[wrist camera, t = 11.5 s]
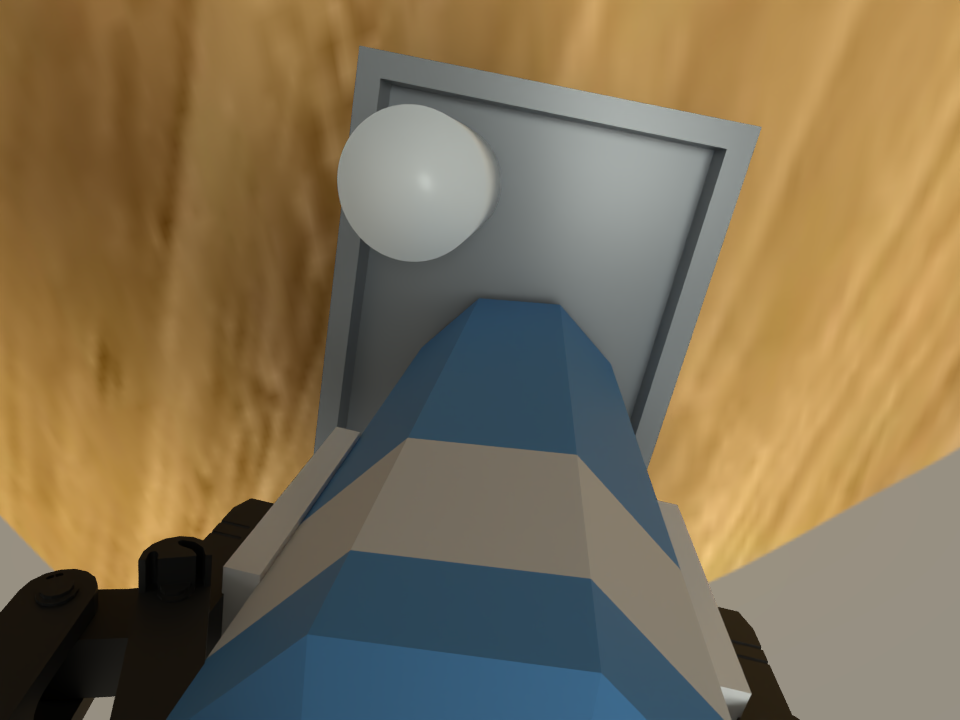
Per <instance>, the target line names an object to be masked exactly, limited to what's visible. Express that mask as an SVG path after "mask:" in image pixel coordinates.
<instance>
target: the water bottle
mask: <svg viewBox="0 0 960 720" xmlns="http://www.w3.org/2000/svg"><path fill="white" fill-rule="evenodd" d="M166 720H731V717H730V714H729V711H728V708H727V705H726V702H725V699H724V696H723V693H722V690H721V687H720V684H719V681H718V678H717V675H716V673H715V670H714V667H713V664H712V661H711V658H710V655H709V652H708V649H707V646H706V643H705V640H704V637H703V634H702V631H701V628H700V625H699V622H698V619H697V616H696V614H695V611H694V608H693V605H692V602H691V599H690V596H689V593H688V590H687V587H686V584H685V581H684V578H683V575H682V572H681V569H680V566H679V563H678V560H677V557H676V555H675V552H674V549H673V546H672V543H671V540H670V537H669V534H668V531H667V528H666V525H665V522H664V519H663V516H662V513H661V510H660V507H659V504H658V501H657V498H656V496H655V493H654V490H653V487H652V484H651V481H650V478H649V475H648V472H647V469H646V466H645V463H644V460H643V457H642V454H641V451H640V448H639V445H638V442H637V439H636V437H635V434H634V431H633V428H632V425H631V422H630V419H629V416H628V413H627V410H626V407H625V404H624V401H623V398H622V395H621V392H620V389H619V386H618V383H617V380H616V378H615V375H614V372H613V369H612V366H611V364H610V362H609V361H608V360H607V359H606V358H605V357H604V355H603V354H602V353H601V352H600V351H599V350H598V348H597V347H596V346H595V345H594V344H593V343H592V341H591V340H590V339H589V338H588V337H587V336H586V334H585V333H584V332H583V331H582V330H581V329H580V327H579V326H578V325H577V324H576V323H575V321H574V320H573V319H572V318H571V317H570V316H569V314H568V313H567V312H566V311H565V310H564V309H563V307H562V306H561V305H558V304H545V303H533V302H520V301H508V300H495V299H482V298H479V299H478V300H477V301H475V302H474V303H473V304H472V305H471V306H470V307H468V308H467V309H466V310H465V311H464V312H463V313H461V314H460V315H459V316H458V317H457V318H456V319H454V320H453V321H452V322H451V323H450V324H449V325H447V326H446V327H445V328H444V329H443V330H442V331H440V332H439V333H438V334H437V335H436V336H435V337H433V338H432V339H431V340H430V341H429V342H428V343H426V344H425V345H424V346H423V347H422V348H421V349H420V351H419V352H418V354H417V355H416V357H415V358H414V359H413V361H412V362H411V364H410V365H409V367H408V368H407V370H406V371H405V372H404V374H403V375H402V377H401V378H400V380H399V381H398V383H397V384H396V385H395V387H394V388H393V390H392V391H391V393H390V394H389V396H388V397H387V398H386V400H385V401H384V403H383V404H382V406H381V407H380V409H379V410H378V411H377V413H376V414H375V416H374V417H373V419H372V420H371V422H370V423H369V424H368V426H367V427H366V429H365V430H364V432H363V433H362V435H361V436H360V437H359V439H358V441H357V442H356V444H355V445H354V447H353V448H352V450H351V451H350V452H349V454H348V455H347V457H346V458H345V460H344V461H343V463H342V464H341V465H340V467H339V468H338V470H337V471H336V473H335V474H334V476H333V477H332V478H331V480H330V481H329V483H328V484H327V486H326V487H325V489H324V490H323V491H322V493H321V494H320V496H319V497H318V499H317V500H316V502H315V503H314V505H313V506H312V507H311V509H310V510H309V512H308V513H307V515H306V516H305V518H304V519H303V520H302V522H301V523H300V525H299V526H298V528H297V529H296V531H295V532H294V533H293V535H292V536H291V538H290V539H289V541H288V542H287V544H286V545H285V546H284V548H283V549H282V551H281V552H280V554H279V555H278V557H277V558H276V560H275V561H274V562H273V564H272V565H271V567H270V568H269V570H268V571H267V573H266V574H265V575H264V577H263V578H262V580H261V581H260V583H259V584H258V585H257V586H256V588H255V589H254V591H253V592H252V593H251V595H250V596H249V598H248V599H247V601H246V602H245V604H244V605H243V606H242V608H241V609H240V611H239V612H238V614H237V615H236V617H235V618H234V619H233V621H232V622H231V624H230V625H229V627H228V628H227V630H226V631H225V632H224V634H223V635H222V637H221V638H220V640H219V641H218V643H217V644H216V645H215V647H214V648H213V650H212V651H211V653H210V654H209V656H208V657H207V658H206V660H205V664H204V665H203V666H202V668H201V669H200V671H199V672H198V674H197V675H196V677H195V678H194V680H193V681H192V682H191V684H190V685H189V687H188V688H187V690H186V691H185V693H184V694H183V695H182V697H181V698H180V700H179V701H178V703H177V704H176V706H175V707H174V709H173V710H172V711H171V713H170V714H169V716H168V717H167V719H166Z"/></svg>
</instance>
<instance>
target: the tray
mask: <svg viewBox="0 0 960 720" xmlns="http://www.w3.org/2000/svg"><path fill="white" fill-rule="evenodd" d="M401 104H415V105H422V106H426V107H430V108H433V109H435V110H437V111H440V112H442V113H444V114H446V115H447V116H449V117H451V118H453V119H454V120H456V121H458V122H460V123H461V124H463V125H465V126H467V127H468V128H470V129H472V130H473V131H475V132H477V133H478V134H479V135H480V136H481V137H482V138H483V139H484V140H485V141H486V142H487V143H488V144H489V146H490V147H491V149H492V150H493V152H494V154H495V156H496V159H497V161H498V164H499V168H500V174H501V189H500V195H499V199H498V202H497V205H496V207H495V209H494V211H493V213H492V215H491V216H490V217H489V219H488V220H487V221H486V222H485V223H484V224H483V225H482V226H481V227H480V228H479V229H478V230H476V231H475V232H474V233H473V234H472V235H471V236H469V237H468V238H467V239H466V240H465V241H464V242H462V243H461V244H460V245H459V246H458V247H456V248H455V249H454V250H452V251H450V252H449V253H447V254H445V255H443V256H441V257H438V258H436V259H432V260H428V261H420V262H408V261H401V260H397V259H393V258H390V257H388V256H385V255H383V254H381V253H379V252H378V251H376V250H374V249H373V248H371V247H370V246H369V245H368V244H366V243H365V242H364V241H363V240H362V239H361V238H360V237H359V236H358V235H357V233H356V232H355V231H354V230H353V228H352V227H351V225H350V223H349V222H348V220H347V218H346V216H345V214H344V212H343V209H342V207H341V215H340V224H339V233H338V242H337V251H336V260H335V269H334V278H333V287H332V296H331V305H330V314H329V322H328V331H327V340H326V349H325V358H324V367H323V376H322V385H321V394H320V403H319V412H318V420H317V429H316V438H315V447H314V454H315V453H316V451H317V450H318V449H319V448H320V446H321V445H322V444H323V443H324V441H325V440H326V439H327V438H328V437H329V435H330V434H331V433H332V432H333V430H334V429H335V428H336V427H339V428H344V429H348V430H353V431H357V432H360V436H361V435H362V433H363V432H364V430H365V429H366V427H367V426H368V424H369V423H370V422H371V420H372V419H373V417H374V416H375V414H376V413H377V411H378V410H379V409H380V407H381V406H382V404H383V403H384V401H385V400H386V398H387V397H388V396H389V394H390V393H391V391H392V390H393V388H394V387H395V385H396V384H397V383H398V381H399V380H400V378H401V377H402V375H403V374H404V372H405V371H406V370H407V368H408V367H409V365H410V364H411V362H412V361H413V359H414V358H415V357H416V355H417V354H418V352H419V351H420V349H421V348H422V347H423V346H424V345H425V344H426V343H428V342H429V341H430V340H431V339H432V338H433V337H435V336H436V335H437V334H438V333H439V332H440V331H442V330H443V329H444V328H445V327H446V326H447V325H449V324H450V323H451V322H452V321H453V320H454V319H456V318H457V317H458V316H459V315H460V314H461V313H463V312H464V311H465V310H466V309H467V308H468V307H470V306H471V305H472V304H473V303H474V302H475V301H477V300H478V299H479V298H482V299H495V300H508V301H520V302H533V303H545V304H558V305H561V306H562V307H563V309H564V310H565V311H566V312H567V313H568V314H569V316H570V317H571V318H572V319H573V320H574V321H575V323H576V324H577V325H578V326H579V327H580V329H581V330H582V331H583V332H584V333H585V334H586V336H587V337H588V338H589V339H590V340H591V341H592V343H593V344H594V345H595V346H596V347H597V348H598V350H599V351H600V352H601V353H602V354H603V355H604V357H605V358H606V359H607V360H608V361H609V362H610V364H611V366H612V369H613V372H614V375H615V378H616V380H617V383H618V386H619V389H620V392H621V395H622V398H623V401H624V404H625V407H626V410H627V413H628V416H629V419H630V422H631V425H632V428H633V431H634V434H635V437H636V439H637V442H638V445H639V448H640V451H641V454H642V457H643V460H644V463H645V466H646V469H647V468H648V465H649V462H650V459H651V456H652V453H653V450H654V447H655V444H656V441H657V438H658V435H659V432H660V429H661V426H662V423H663V420H664V417H665V414H666V411H667V408H668V405H669V402H670V399H671V396H672V393H673V390H674V387H675V384H676V381H677V378H678V375H679V372H680V369H681V366H682V363H683V360H684V357H685V354H686V352H687V349H688V346H689V343H690V340H691V337H692V334H693V331H694V328H695V325H696V322H697V319H698V316H699V313H700V310H701V307H702V304H703V301H704V298H705V295H706V292H707V289H708V286H709V283H710V280H711V277H712V274H713V271H714V268H715V265H716V262H717V259H718V256H719V253H720V250H721V247H722V244H723V241H724V238H725V235H726V232H727V229H728V226H729V223H730V220H731V217H732V214H733V211H734V208H735V205H736V202H737V199H738V196H739V193H740V190H741V187H742V184H743V181H744V178H745V175H746V172H747V169H748V166H749V163H750V160H751V157H752V154H753V151H754V148H755V145H756V142H757V139H758V136H759V133H760V130H761V127H759V126H754V125H749V124H744V123H739V122H734V121H729V120H724V119H719V118H714V117H709V116H704V115H699V114H694V113H689V112H684V111H680V110H675V109H670V108H665V107H660V106H655V105H650V104H645V103H640V102H635V101H630V100H625V99H620V98H615V97H610V96H605V95H600V94H596V93H591V92H586V91H581V90H576V89H571V88H566V87H561V86H556V85H551V84H546V83H541V82H536V81H531V80H526V79H521V78H516V77H512V76H507V75H502V74H497V73H492V72H487V71H482V70H477V69H472V68H467V67H462V66H457V65H452V64H447V63H442V62H437V61H432V60H428V59H423V58H418V57H413V56H408V55H403V54H398V53H393V52H388V51H383V50H378V49H373V48H368V47H363V46H359V55H358V64H357V73H356V82H355V91H354V100H353V109H352V117H351V126H350V135H349V137H350V136H351V134H352V133H353V131H354V130H355V129H356V128H357V127H358V125H360V124H361V123H362V122H363V121H364V120H365V119H366V118H368V117H369V116H371V115H372V114H374V113H376V112H378V111H380V110H382V109H384V108H387V107H391V106H395V105H401Z"/></svg>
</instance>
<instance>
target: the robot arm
mask: <svg viewBox="0 0 960 720" xmlns="http://www.w3.org/2000/svg"><path fill="white" fill-rule="evenodd" d="M359 437H360V432H357V431H353V430H348V429H344V428H339V427H336V428H335V429H334V430H333V432H332V433H331V434H330V435H329V437H328V438H327V439H326V440H325V441H324V443H323V444H322V445H321V446H320V448H319V449H318V450H317V451H316V453H315V454H314V455H313V456H312V458H311V459H310V460H309V461H308V462H307V464H306V465H305V466H304V467H303V469H302V470H301V471H300V472H299V474H298V475H297V476H296V477H295V479H294V480H293V481H292V482H291V483H290V485H289V486H288V487H287V488H286V490H285V491H284V492H283V493H282V495H281V496H280V497H279V498H278V500H277V501H276V502H275V503H274V504H273V503H269V502H265V501H260V500H256V499H252V498H251V499H249V500H247V501H245V502H243V503H241V504H239V505H237V506H236V507H234V508H233V509H232V510H231V511H230V512H229V513H228V514H227V515H226V516H225V517H224V518H223V520H222V522H221V523H219V524H218V525H217V526H216V527H215V528H214V529H213V531H212V533H210V534H209V535H208V536H207V537H206V538H205V539H204V540H200V539H197V538H194V537H184V536H178V537H172V538H167V539H164V540H161V541H159V542H156V543H154V544H152V545H151V546H150V547H148V548H147V549H146V550H145V551H143V553H142V555H141V557H140V558H139V560H138V571H139V588H134V589H103V590H98V585H97V581H96V578H95V577H94V576H93V575H91V574H90V573H89V572H87V571H82V570H78V569H66V570H58V571H54V572H50V573H46V574H44V575H42V576H40V577H38V578H35V579H33V580H31V581H30V582H29V583H27V584H26V585H25V586H24V587H23V588H22V589H20V590H19V591H18V592H17V594H16V595H15V596H14V597H13V598H12V599H11V601H10V602H9V603H8V604H7V605H6V606H5V608H4V609H3V610H2V611H1V612H0V720H82V719H83V718H84V716H85V714H86V712H87V710H88V709H89V707H90V705H91V703H92V702H93V700H94V698H95V697H112V696H115V700H114V704H113V708H112V713H111V717H110V720H166V719H167V717H168V716H169V714H170V713H171V711H172V710H173V709H174V707H175V706H176V704H177V703H178V701H179V700H180V698H181V697H182V695H183V694H184V693H185V691H186V690H187V688H188V687H189V685H190V684H191V682H192V681H193V680H194V678H195V677H196V675H197V674H198V672H199V671H200V669H201V668H202V666H203V665H204V664H205V660H206V658H207V657H208V656H209V654H210V653H211V651H212V650H213V648H214V647H215V645H216V644H217V643H218V641H219V640H220V638H221V637H222V635H223V634H224V632H225V631H226V630H227V628H228V627H229V625H230V624H231V622H232V621H233V619H234V618H235V617H236V615H237V614H238V612H239V611H240V609H241V608H242V606H243V605H244V604H245V602H246V601H247V599H248V598H249V596H250V595H251V593H252V592H253V591H254V589H255V588H256V586H257V585H258V584H259V583H260V581H261V580H262V578H263V577H264V575H265V574H266V573H267V571H268V570H269V568H270V567H271V565H272V564H273V562H274V561H275V560H276V558H277V557H278V555H279V554H280V552H281V551H282V549H283V548H284V546H285V545H286V544H287V542H288V541H289V539H290V538H291V536H292V535H293V533H294V532H295V531H296V529H297V528H298V526H299V525H300V523H301V522H302V520H303V519H304V518H305V516H306V515H307V513H308V512H309V510H310V509H311V507H312V506H313V505H314V503H315V502H316V500H317V499H318V497H319V496H320V494H321V493H322V491H323V490H324V489H325V487H326V486H327V484H328V483H329V481H330V480H331V478H332V477H333V476H334V474H335V473H336V471H337V470H338V468H339V467H340V465H341V464H342V463H343V461H344V460H345V458H346V457H347V455H348V454H349V452H350V451H351V450H352V448H353V447H354V445H355V444H356V442H357V441H358V439H359ZM657 501H658V500H657ZM658 504H659V507H660V510H661V513H662V516H663V519H664V522H665V525H666V528H667V531H668V534H669V537H670V540H671V543H672V546H673V549H674V552H675V555H676V557H677V560H678V563H679V566H680V569H681V572H682V575H683V578H684V581H685V584H686V587H687V590H688V593H689V596H690V599H691V602H692V605H693V608H694V611H695V614H696V616H697V619H698V622H699V625H700V628H701V631H702V634H703V637H704V640H705V643H706V646H707V649H708V652H709V655H710V658H711V661H712V664H713V667H714V670H715V673H716V675H717V678H718V681H719V684H720V687H721V690H722V693H723V696H724V699H725V702H726V705H727V708H728V711H729V714H730V717H731V720H799V719H798V718H796V717H795V716H793V715H792V714H791V711H790V709H789V707H788V705H787V703H786V700H785V698H784V696H783V694H782V692H781V690H780V687H779V685H778V683H777V681H776V678H775V676H774V674H773V672H772V669H771V667H770V665H768V661H767V658H766V656H765V654H764V652H763V650H761V645H760V643H759V641H758V638H757V636H756V634H755V632H754V630H753V628H752V627H751V626H750V625H749V624H748V622H747V621H746V620H745V619H744V618H743V617H742V616H741V614H740V613H739V612H737V611H733V610H728V609H724V608H720V607H717V604H716V602H715V599H714V597H713V594H712V592H711V589H710V587H709V584H708V581H707V579H706V576H705V574H704V571H703V569H702V566H701V564H700V561H699V559H698V556H697V553H696V551H695V548H694V546H693V543H692V541H691V538H690V536H689V533H688V531H687V528H686V525H685V523H684V520H683V518H682V515H681V513H680V510H679V508H678V505H675V504H671V503H666V502H662V501H658Z"/></svg>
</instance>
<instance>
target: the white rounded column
mask: <svg viewBox="0 0 960 720" xmlns="http://www.w3.org/2000/svg"><path fill="white" fill-rule="evenodd" d="M337 184H338V194H339V199H340V203H341V206H342V209H343V212H344V214H345V216H346V218H347V220H348V222H349V223H350V225H351V227H352V228H353V230H354V231H355V232H356V233H357V235H358V236H359V237H360V238H361V239H362V240H363V241H364V242H365V243H366V244H368V245H369V246H370V247H371V248H373V249H374V250H376V251H378V252H379V253H381V254H383V255H385V256H388V257H390V258H393V259H397V260H401V261H408V262H420V261H428V260H432V259H436V258H438V257H441V256H443V255H445V254H447V253H449V252H450V251H452V250H454V249H455V248H456V247H458V246H459V245H460V244H461V243H462V242H464V241H465V240H466V239H467V238H468V237H469V236H471V235H472V234H473V233H474V232H475V231H476V230H478V229H479V228H480V227H481V226H482V225H483V224H484V223H485V222H486V221H487V220H488V219H489V217H490V216H491V215H492V213H493V211H494V209H495V207H496V205H497V202H498V199H499V195H500V189H501V174H500V168H499V164H498V161H497V159H496V156H495V154H494V152H493V150H492V149H491V147H490V146H489V144H488V143H487V142H486V141H485V140H484V139H483V138H482V137H481V136H480V135H479V134H478V133H477V132H475V131H473V130H472V129H470V128H468V127H467V126H465V125H463V124H461V123H460V122H458V121H456V120H454V119H453V118H451V117H449V116H447V115H446V114H444V113H442V112H440V111H437V110H435V109H433V108H430V107H426V106H422V105H415V104H401V105H395V106H391V107H387V108H384V109H382V110H380V111H378V112H376V113H374V114H372V115H371V116H369V117H368V118H366V119H365V120H364V121H363V122H362V123H361V124H360V125H358V127H357V128H356V129H355V130H354V131H353V133H352V134H351V136H350V137H349V139H348V140H347V142H346V144H345V146H344V149H343V151H342V154H341V157H340V161H339V166H338V175H337Z"/></svg>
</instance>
